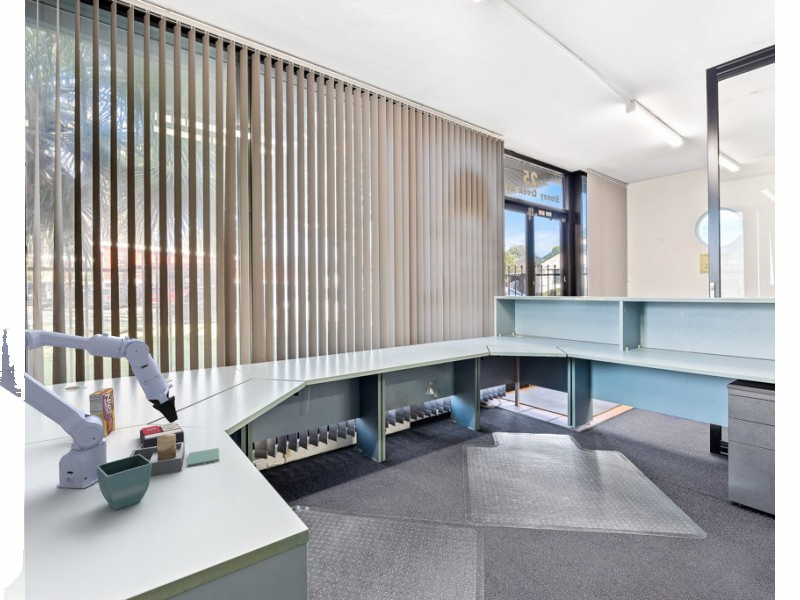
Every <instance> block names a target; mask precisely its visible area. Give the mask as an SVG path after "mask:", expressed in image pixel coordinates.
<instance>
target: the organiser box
mask: <svg viewBox="0 0 800 600" xmlns="http://www.w3.org/2000/svg"><path fill="white" fill-rule="evenodd" d="M185 445H186V444H185V441H184V442H181V443H176V457H175V458H173V459H167V460H162V461H159V460H158V455H157V446H155V447H149V448H143V447H142V448H136V449H132V451H131V453H130V455H129V457H130V456H134V455H138V454H140V455H142V456H143V457H144V458H146V459H147V460H149V461H150V462H152V467H151V475H150V478H151V477H155V476H160V475H166V474H172V473H177V472H182V470H183V464H184V459H185V453H186V449H185V448H186V447H185Z"/></svg>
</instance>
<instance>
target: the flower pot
mask: <svg viewBox="0 0 800 600" xmlns="http://www.w3.org/2000/svg"><path fill="white" fill-rule="evenodd" d="M151 467H152V462H150V461H149V460H147V459H146V458H144V457H143V456H142V455H140V454H138V455H134V456H130V455H129V456H127V457H124V458H120V459H116V460H113V461H109V462H107V463H105V464H101V465H98V466H96V468H97V475H98V481H97V482H98V486H99V490H100V492H101V495H102V496H103V498H104V499H105V501H106V502H107V503H108V505H109V506H110V507H111V508H112V509H113V510H114V511H117V510H120V509H122V508H125V507H128V506H131V505H134V504H137V503H140V502H141V501H142V500H143V498H144V496H145V494H146V493H147V491H148V488H149V485H150V481H151V477H150V475H151Z"/></svg>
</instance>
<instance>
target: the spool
mask: <svg viewBox="0 0 800 600" xmlns="http://www.w3.org/2000/svg"><path fill="white" fill-rule="evenodd" d="M157 455H158V460H159V461H162V460H167V459H173V458H175V457H176V434H164V435H161V436H159V437H157Z"/></svg>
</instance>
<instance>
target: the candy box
mask: <svg viewBox="0 0 800 600" xmlns="http://www.w3.org/2000/svg"><path fill="white" fill-rule="evenodd" d="M114 395H115V394H114V388H113V387H107V388H100V389H98V390H97V391H94V392H92V393H90V394H88V396H89V397H88V399H89V415H95V416H98V417H100V418H101V419H102V421H103V428H104V430H105V435H104V438H107V436H108V435H110V434H111V433H112V432H113V431H115V430H116V415H115V412H116V411H115V400H114V399H115V398H114Z"/></svg>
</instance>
